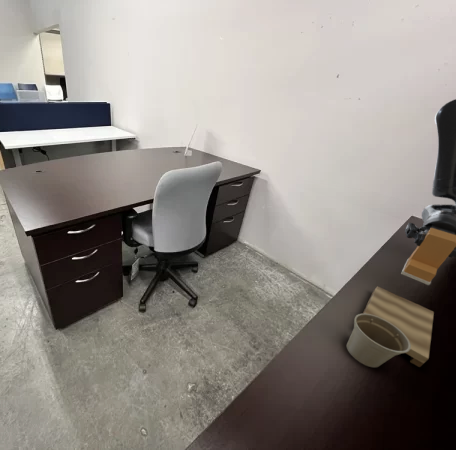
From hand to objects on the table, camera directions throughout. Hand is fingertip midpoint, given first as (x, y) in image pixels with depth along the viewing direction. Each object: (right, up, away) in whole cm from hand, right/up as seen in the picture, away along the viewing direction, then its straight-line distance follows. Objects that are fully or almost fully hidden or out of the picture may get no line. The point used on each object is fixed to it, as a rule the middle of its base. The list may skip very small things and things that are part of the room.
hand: (435, 248), depth 61 cm
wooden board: (-9, -21, +2) cm, 23 cm away
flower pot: (-23, -24, -5) cm, 34 cm away
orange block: (0, -7, +4) cm, 8 cm away
